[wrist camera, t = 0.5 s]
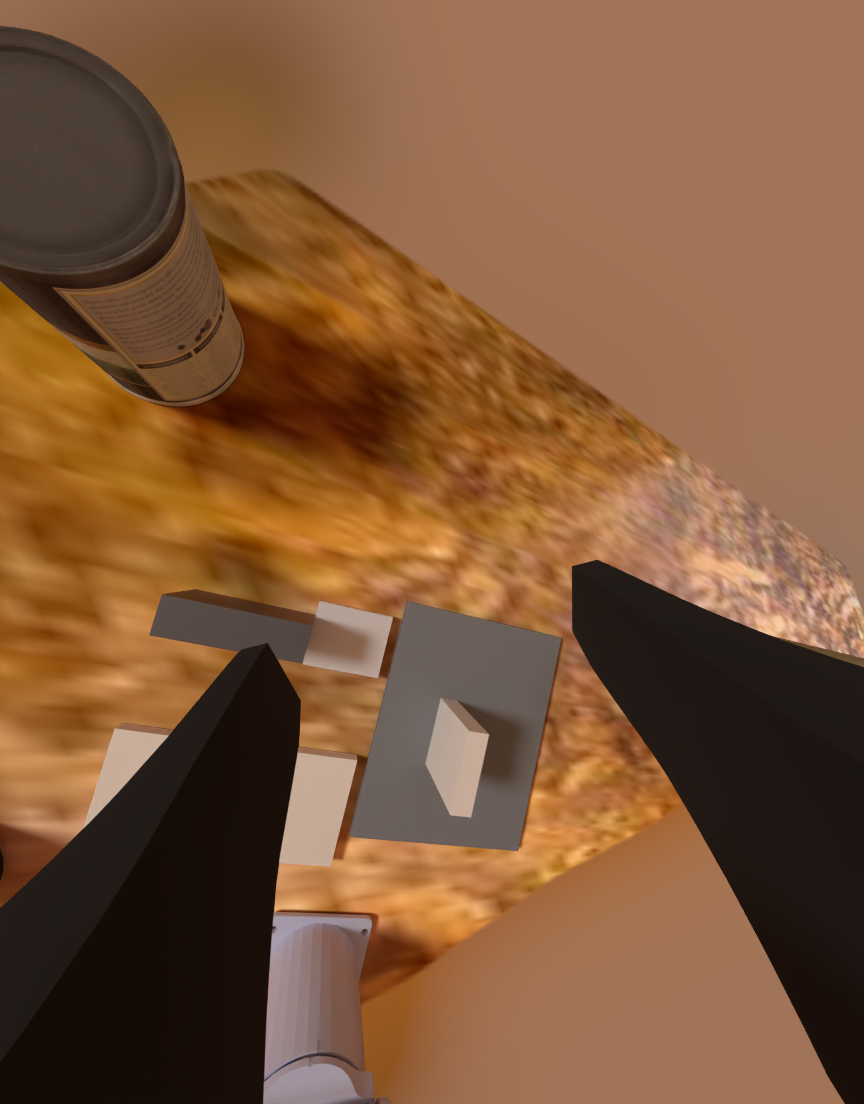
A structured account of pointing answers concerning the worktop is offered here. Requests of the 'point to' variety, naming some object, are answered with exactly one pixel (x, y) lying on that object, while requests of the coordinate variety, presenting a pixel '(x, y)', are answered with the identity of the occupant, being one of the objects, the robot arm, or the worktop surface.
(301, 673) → the worktop surface
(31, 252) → the coffee can
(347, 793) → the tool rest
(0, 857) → the beverage can
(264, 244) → the worktop surface
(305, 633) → the grey bar
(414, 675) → the mat
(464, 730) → the tile
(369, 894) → the worktop surface
